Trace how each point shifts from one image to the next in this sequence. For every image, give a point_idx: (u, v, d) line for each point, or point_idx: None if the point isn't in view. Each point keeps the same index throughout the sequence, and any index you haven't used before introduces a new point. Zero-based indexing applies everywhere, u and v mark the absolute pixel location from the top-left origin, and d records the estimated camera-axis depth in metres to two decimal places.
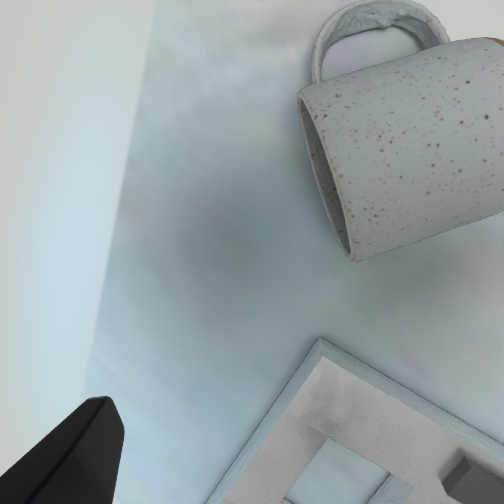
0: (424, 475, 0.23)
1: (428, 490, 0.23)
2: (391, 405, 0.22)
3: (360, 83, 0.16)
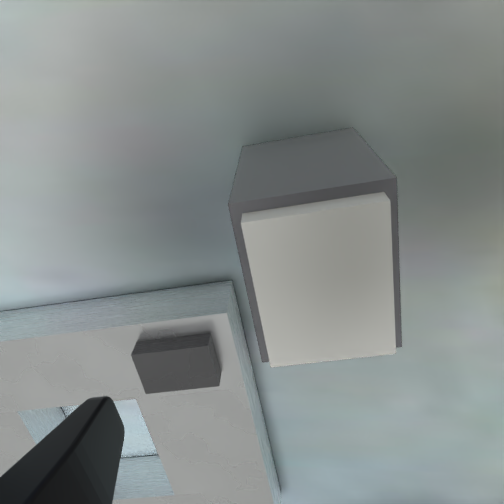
0: (127, 383, 0.18)
1: None
2: (20, 347, 0.17)
3: None
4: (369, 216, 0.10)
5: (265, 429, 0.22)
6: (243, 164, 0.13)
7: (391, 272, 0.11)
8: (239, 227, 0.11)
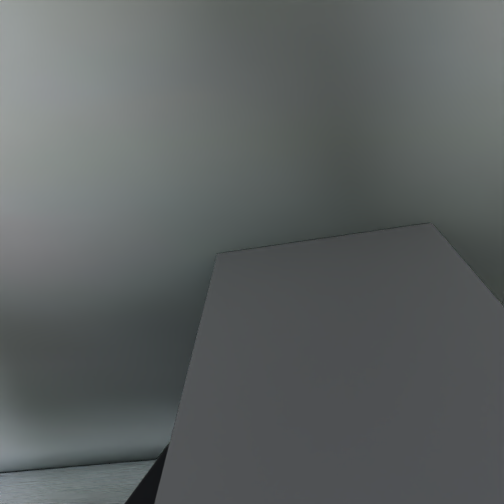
0: None
1: None
2: None
3: None
4: None
5: None
6: (208, 337, 0.06)
7: None
8: None
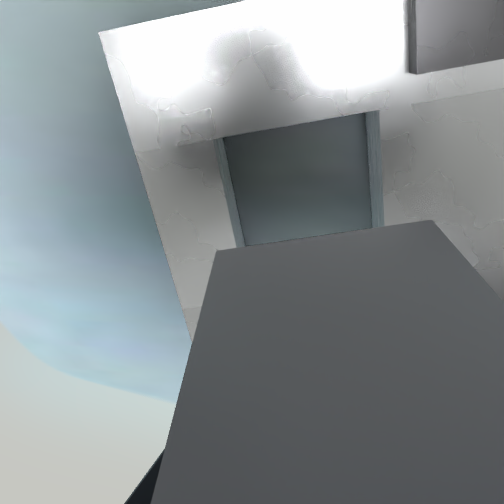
0: (375, 81, 0.13)
1: (399, 99, 0.14)
2: (242, 17, 0.13)
3: None
4: None
5: None
6: (207, 333, 0.06)
7: None
8: None
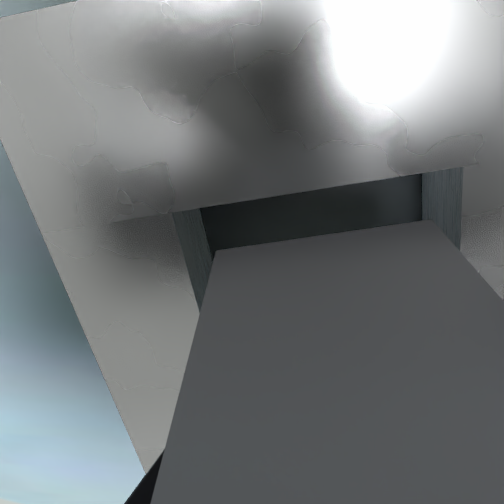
0: (460, 117, 0.07)
1: (501, 148, 0.08)
2: (217, 1, 0.07)
3: None
4: None
5: None
6: (207, 333, 0.06)
7: None
8: None
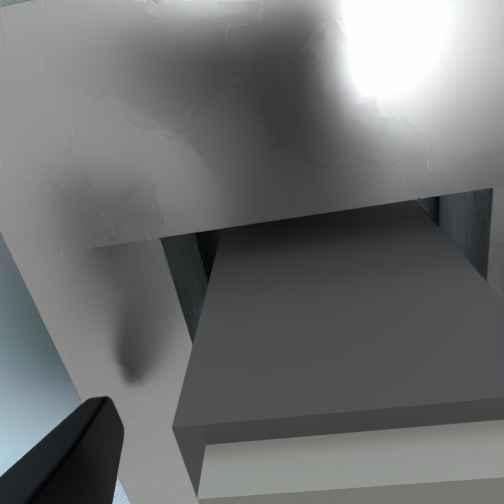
0: (492, 132, 0.06)
1: None
2: None
3: None
4: None
5: None
6: (222, 268, 0.07)
7: None
8: (200, 466, 0.05)
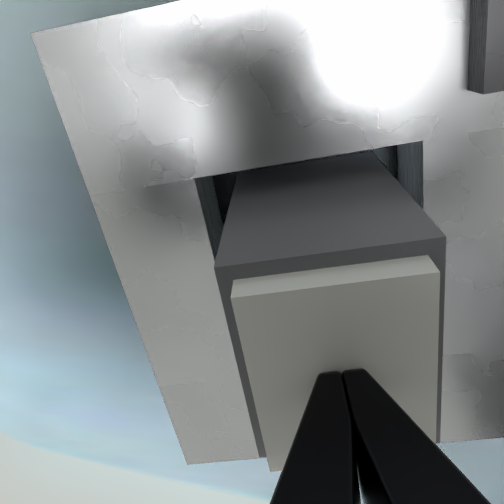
0: (419, 101, 0.10)
1: (451, 126, 0.10)
2: (233, 12, 0.09)
3: None
4: (409, 291, 0.07)
5: None
6: (237, 200, 0.11)
7: (435, 361, 0.08)
8: (229, 297, 0.08)
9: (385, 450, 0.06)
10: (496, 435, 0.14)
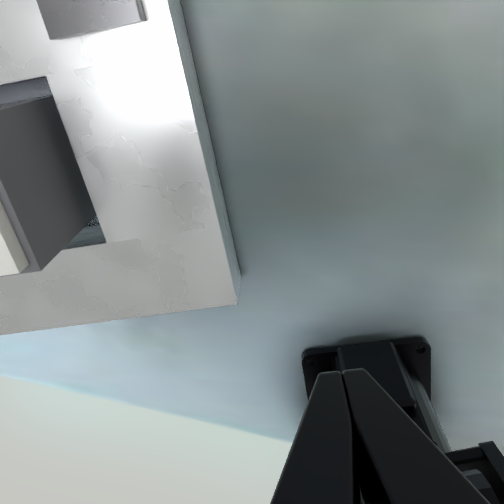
0: (33, 47, 0.14)
1: (60, 64, 0.15)
2: None
3: None
4: None
5: (217, 174, 0.18)
6: None
7: None
8: None
9: (385, 450, 0.06)
10: (182, 308, 0.19)
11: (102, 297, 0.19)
